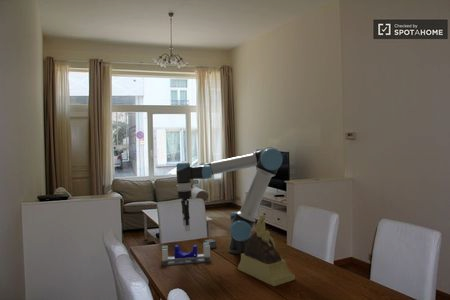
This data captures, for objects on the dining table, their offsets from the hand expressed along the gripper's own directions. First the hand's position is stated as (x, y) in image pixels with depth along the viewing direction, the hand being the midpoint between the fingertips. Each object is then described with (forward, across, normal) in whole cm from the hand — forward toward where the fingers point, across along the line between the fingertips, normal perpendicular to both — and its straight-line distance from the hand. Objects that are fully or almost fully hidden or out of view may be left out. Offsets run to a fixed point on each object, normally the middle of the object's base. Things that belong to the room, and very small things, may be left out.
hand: (186, 228), depth 215 cm
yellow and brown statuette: (+18, +34, +35) cm, 52 cm away
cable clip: (+16, +2, -1) cm, 16 cm away
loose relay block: (+18, -20, +15) cm, 31 cm away
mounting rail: (+18, +2, -1) cm, 18 cm away
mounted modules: (+16, +2, -1) cm, 16 cm away
